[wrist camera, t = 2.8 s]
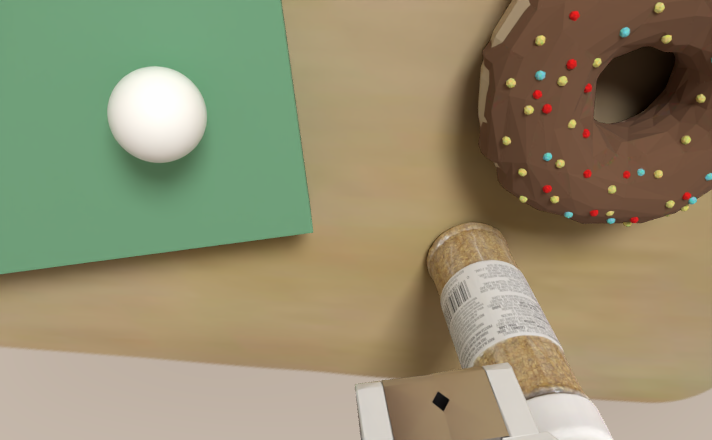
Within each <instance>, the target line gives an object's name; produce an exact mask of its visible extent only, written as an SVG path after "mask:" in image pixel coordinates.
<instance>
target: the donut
mask: <svg viewBox="0 0 712 440" xmlns="http://www.w3.org/2000/svg"><path fill="white" fill-rule="evenodd" d="M645 46H652V47H654V48H656V49H659V50H661V51H663V52H673V53H674V55H675V65H674V68H673V70H672V73H671V75H670V78H669V81H668V83H667V86H666V88H665V90H664V91H663V92H662V93H661V94H660V95H659V96H658V97H657V98H656V99H655V100H654V101H653V102H652V103H651V104H650V105H649V106H648V107H647V108H646V109H645V110H644V111H643V112H641V113H640V114H637V115H635V116H633V117H631V118H629V119H626V120H624V121H622V122H618V123H612V124H605V123H600V122H598V121H596V120H595V119H593V114H594V103H595V93H596V82H597V78H598V77H599V75H600V73H601V72H602V71H603V70H604V69H605V67H606V66H607V65H608V64H609V63H610V61H611V60H612V59H614V58H616V57H619V56H621V55H624V54H626V53H629V52H631V51H634V50H636V49H639V48H641V47H645ZM482 53H483V63H482V66H481V73H480V87H479V101H478V117H479V118H478V119H479V124H480V138H479V143H478V145H479V147H480V150H481V153H482V154H483V155H484V156H485V157H487V158H488V159H489V160H491V161H492V162H493V163H494V164H495V166H496V168H497V177H498V181H499V183H500V184H501V185H502V187H503V188H504V189H506V190H507V191H509V192H510V193H512V194H513V195H514V196H516V197H517V198H519V200H520V201H521V202H523V203H527V204H528V205H530V206H532V207H534V208H536V209H537V210H541V211H545V212H550V213H554V214H558V215H562V216H564V217H566V218H570V219H572V220H575V221H577V222H580V223H582V224H590V223H609V224H612V223H623V225H625V226H627V227H628V226H630V225H631V224H632V223H643V222H646V221H650V220H653V219H656V218H660V217H663V216H666V217H668V216H670V215H671V214H674V213H676V212H678V211H679V210H681V211H687V210H688V208H689V206H688V204H694V203H696V202H697V199H698V198H699V197H701V196H703V195H704V194H705V193H707V192H708V191H710V190H711V189H712V0H512V1H511V3H510V5H509V6H508V8H507V9H506V11H505V13H504V14H503V16H502V17H501V19H500V21H499V22H498V24H497V25H496V27H495V29H494V31H493V33H492V36H491V39H490V42H489V43H488V44H487V46H486V47H485V49H484V50H483V51H482Z"/></svg>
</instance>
